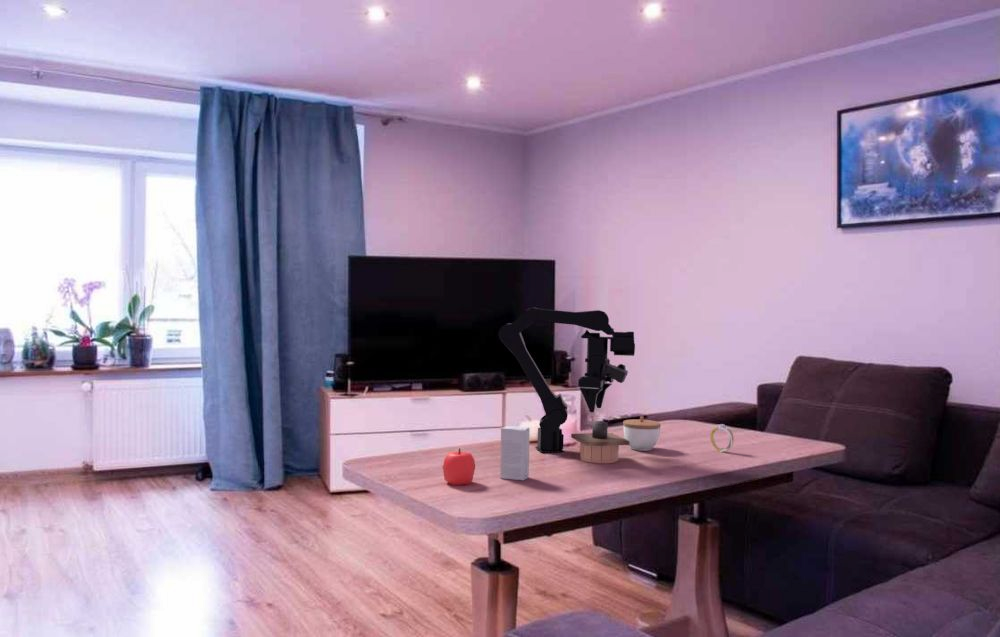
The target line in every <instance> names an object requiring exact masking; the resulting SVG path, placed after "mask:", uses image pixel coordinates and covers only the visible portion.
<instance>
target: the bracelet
mask: <svg viewBox="0 0 1000 637" xmlns="http://www.w3.org/2000/svg"><path fill="white" fill-rule="evenodd" d="M717 431H725V432H726V433H727V435H728V438H729V439H728V440H729V443H728V444H727V445H728V446H726V448H723V447H719V446H718V444H717V443H716V441H715V435H716V433H717ZM734 438H735V437H734V434H733V432H732V431H731V429H729V428H728V426H727V425H725V423H724V424H723V423H720V424H716V427H715V428H714V429H712V430H711V432H710V442H711V445H712V447H714V449H715V450H717V451H719V452H720V453H722V452H723V453H724V452H727V451H729V450H730V449H731V448H732V446H733V445H734Z"/></svg>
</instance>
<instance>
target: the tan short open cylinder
mask: <svg viewBox="0 0 1000 637" xmlns="http://www.w3.org/2000/svg"><path fill="white" fill-rule="evenodd" d="M579 443H580V442H579ZM579 445H580V446H579V448H580V450H579V457H580V460H581V461H583V462H586V463H590V464H599V465H601V464H604V465H605V464H606V465H607V464H614V463H618V461H619V454H620V453H619V451H620V450H619V449H620V445H607V446H586V445H584V444H582V443H580V444H579Z"/></svg>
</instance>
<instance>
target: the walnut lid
mask: <svg viewBox="0 0 1000 637" xmlns="http://www.w3.org/2000/svg"><path fill="white" fill-rule="evenodd" d="M608 427H609V426H608V421H607V422H606V421H601V420H600V421H599V420H598V421H592V427H591V428H592V432H590V433H587V432H586V433H571V435H570V438H572V439H573V440H575V441H577V442H578V443H582V444H584V445H586V446H607V445H619V446H629V441H628V440H626V439H625V438H624V437H622V436H619V435H617V434H615V433H613V432H608Z"/></svg>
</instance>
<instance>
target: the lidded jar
mask: <svg viewBox="0 0 1000 637" xmlns="http://www.w3.org/2000/svg"><path fill="white" fill-rule="evenodd" d="M644 418H645V417H644V416H640V417H639V419H634V418H633V419H626V420H623V422H622V425H623V431H622V432H623V438H624V439H626V440H628V441H629V445H628V446H629V447H630V448H629V449H631V450H633V451H642V452H643V451H644V452H645V451H646V452H648V451H651V450H652V449H653V448H654V447H656V445H657V443H658V442H659V438H660V433H661V422H659V421H656V420H651V419H644Z"/></svg>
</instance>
